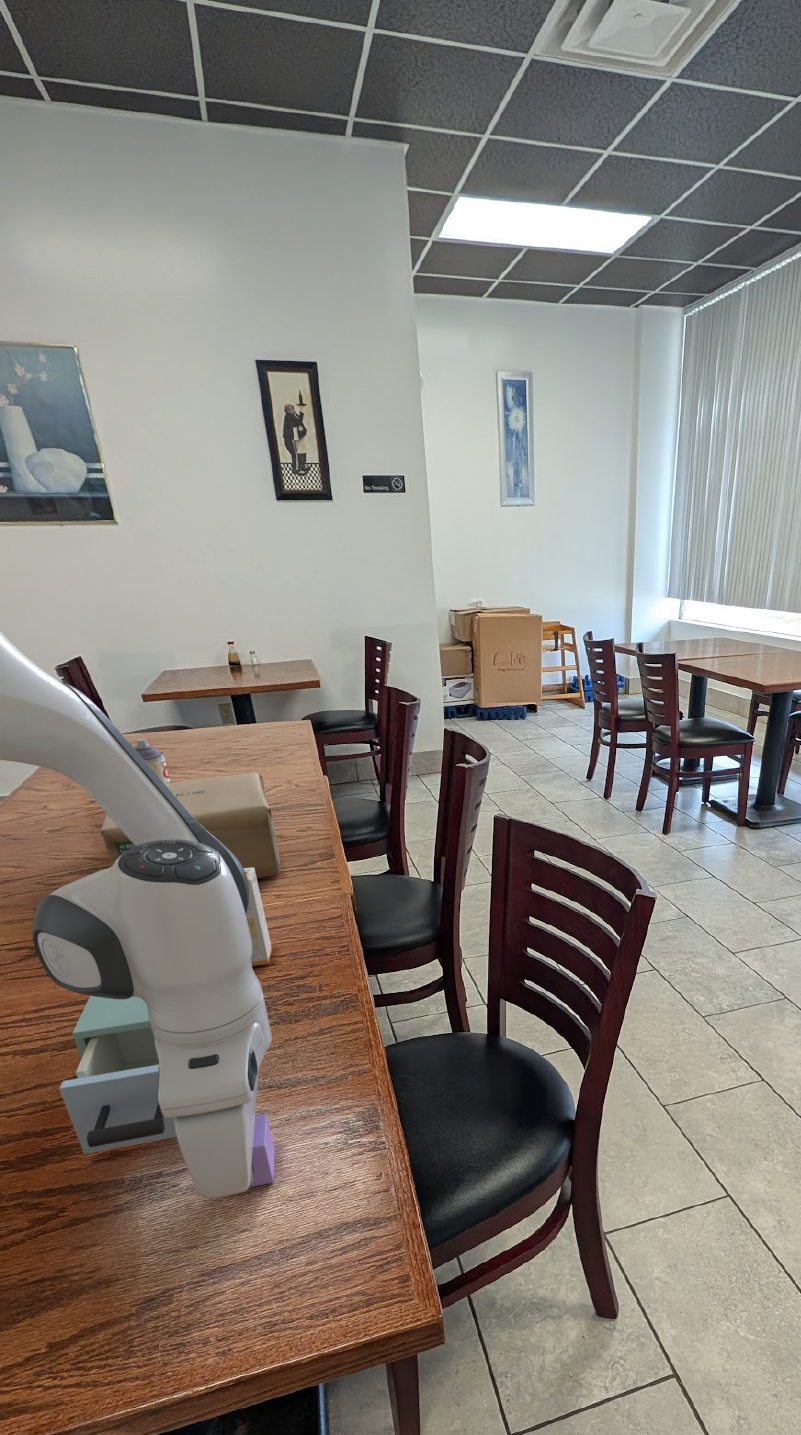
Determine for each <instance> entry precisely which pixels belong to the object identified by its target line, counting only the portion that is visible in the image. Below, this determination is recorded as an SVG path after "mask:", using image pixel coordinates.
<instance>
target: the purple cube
mask: <svg viewBox="0 0 801 1435" xmlns="http://www.w3.org/2000/svg"><path fill="white" fill-rule="evenodd" d="M275 1148H276V1147H275V1145H274V1140H273V1136H272V1130H271V1127H270V1122H269V1119H268V1114H267V1113H262V1114H256V1115H255V1126H254V1138H253V1151H252V1163H253V1167H254V1177H253V1182H252V1183H251V1184H250V1186H249V1188H253V1187H258V1186H262V1185H268V1184H272V1183H274V1177H275V1156H276V1154H275V1152H276V1149H275Z"/></svg>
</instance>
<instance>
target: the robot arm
mask: <svg viewBox="0 0 801 1435" xmlns="http://www.w3.org/2000/svg"><path fill="white" fill-rule="evenodd" d="M134 748H135V746H133V745H132V744H131V743H130V741H129V740H128V739H127V738H126V737H125V735H123V733H122V732H121V731H120V730H119V728H118V727H116V725H115V724H114V723H113V722H112V720H110V719H109V717H107V715H106V714H105V713H104V712H103V711H102V710H101V709H100V708H99V707H98V706H97V704H95V703H94V702H93V701H92V700H91V699H90V698H89V697H88V696H87V695H85V694H84V693H83V692H82V691H81V690H79V689H78V688H76V687H74V686H72V685H70V684H67V683H66V682H63V681H61V680H58V679H56V678H55V677H54V676H52V675H50V674H49V673H48V672H46V671H45V670H43V669H42V668H40V667H39V666H38V665H37V664H36V663H34V662H33V661H32V660H31V659H30V658H28V657H27V656H26V655H25V654H24V653H23V652H21V651H20V649H18V647H16V646H15V645H14V644H13V642H11V641H10V640H9V639H8V638H7V637H6V636H5V634H3V632H2V631H1V630H0V761H7V762H13V763H21V764H27V765H33V766H36V767H42V768H45V769H48V770H51V771H54V772H56V773H59V774H61V775H63V776H66V777H67V778H69V779H70V780H72V781H73V782H75V783H76V784H78V785H79V786H80V787H81V788H82V789H84V790H85V791H86V793H87V794H88V795H89V796H90V797H91V798H92V799H93V800H94V802H95V803H96V804H97V805H98V806H99V807H100V808H101V809H102V811H103V812H104V813H105V814H107V815H108V816H109V817H110V818H111V819H112V820H113V822H114V823H115V824H116V825H117V826H118V827H119V828H120V829H121V830H122V832H123V833H124V834H125V835H126V836H127V837H128V838H129V839H130V841H131V842H132V843H133V844H134V845H135V847H133V848H131V849H129V850H127V851H126V852H124V853H123V854H122V855H121V856H120V857H119V858H118V859H117V860H116V861H115V863H114V864H113V866H112V865H111V866H110V867H107V868H105V869H100V870H97V871H95V872H93V873H91V874H89V875H86V876H83V877H81V878H78V879H77V880H74V881H72V882H70V883H67V884H65V885H63V886H61V887H59V888H56V890H54V891H52V892H50V893H49V894H47V895H45V896H43V897H42V898H41V900H40V902H39V903H38V905H37V907H36V909H35V912H34V916H33V920H32V921H33V923H32V941H33V946H34V949H35V952H36V955H37V957H38V959H39V962H40V964H41V965H42V968H43V969H44V970H45V973H46V974H47V975H48V977H49V978H50V979H51V981H52V982H53V983H55V985H57V986H58V987H60V988H61V989H65V990H68V991H70V992H72V993H73V992H74V993H77V994H80V995H85V996H89V997H90V996H95V997H101V998H109V999H129V998H131V997H139V998H141V999H142V1000H143V1001H144V1002H145V1003H146V1005H147V1008H148V1018H149V1021H150V1025H151V1028H152V1032H153V1035H154V1038H155V1049H156V1052H157V1056H158V1059H159V1080H158V1102H159V1106H160V1109H161V1112H162V1115H163V1116H164V1117H165V1118H172V1117H174V1125H175V1131H176V1136H177V1137H176V1139H177V1143H178V1147H179V1149H180V1152H181V1155H182V1157H183V1160H184V1163H185V1166H186V1168H187V1171H188V1173H189V1175H190V1178H191V1181H192V1183H193V1186H194V1187H195V1190H196V1192H197V1193H198V1194H199V1195H200V1196H202V1197H203V1198H206V1199H215V1198H216V1199H217V1198H223V1197H227V1196H231V1195H236V1194H240V1193H243V1192H245V1191H247V1190H249V1188H250V1187H249V1186H250V1184H251V1183H252V1182H253V1177H254V1167H253V1163H252V1151H253V1138H254V1126H255V1116H256V1113H257V1112H256V1111H257V1100H258V1099H257V1098H258V1087H259V1075H260V1074H259V1072H260V1067H261V1064H262V1062H263V1059H264V1057H265V1053H267V1051H268V1050H269V1048H270V1047H271V1044H272V1040H273V1034H272V1029H271V1025H270V1020H269V1016H268V1010H267V1006H266V1001H265V997H264V992H263V986H262V984H261V982H260V980H259V978H258V976H257V975H256V973H255V971H254V969H253V966H252V963H251V958H252V940H251V935H250V930H249V926H248V922H247V918H246V913H247V908H248V903H249V884H248V879H247V876H246V873H245V871H244V869H243V867H242V865H241V863H240V862H239V860H238V859H237V858H236V857H235V856H234V854H233V853H232V852H231V851H230V850H229V849H228V848H227V847H226V846H224V845H223V844H222V843H221V842H220V841H219V840H218V839H216V838H215V837H214V836H213V835H212V834H210V833H209V832H208V831H207V830H206V829H205V828H204V827H202V826H201V825H200V824H199V823H198V822H197V821H196V820H195V819H194V817H193V816H192V815H191V814H190V813H189V812H188V811H187V810H186V808H185V807H184V806H183V805H182V804H181V803H180V801H179V800H178V799H177V798H176V797H175V796H174V794H173V793H172V792H171V791H170V790H169V788H168V787H167V786H166V785H165V784H164V783H163V781H162V780H161V779H160V778H159V777H158V776H157V774H156V773H155V772H154V771H153V770H152V769H151V767H150V766H149V765H148V764H147V763H146V762H145V760H144V759H143V758H142V757H141V756H140V755H139V753H138V752H137V751H136V750H135V749H134Z"/></svg>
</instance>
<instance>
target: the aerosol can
mask: <svg viewBox="0 0 801 1435" xmlns="http://www.w3.org/2000/svg"><path fill="white" fill-rule="evenodd" d="M135 741H136V745H135V746H134V749H135V750H136V751H137V752H138V753H139V755H140V756H141V757H142V758H143V759H144V760H145V762H146V763H147V764H148V765H149V766H150V767H151V769H152V770H153V771H154V772H155V773H156V774H157V776H158V777H159V778H160V779H161V780H162V781H163V783H164V784H171V779H170V775H169V771H168V768H167V767H168V766H167V762H166V758H165V756H164V755H163V752H162V751H158V749H157V748H155V747H152V745H150V744H149V743H148V742H147V739H146V738H139V739H138V738H137V739H136V740H135Z"/></svg>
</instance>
